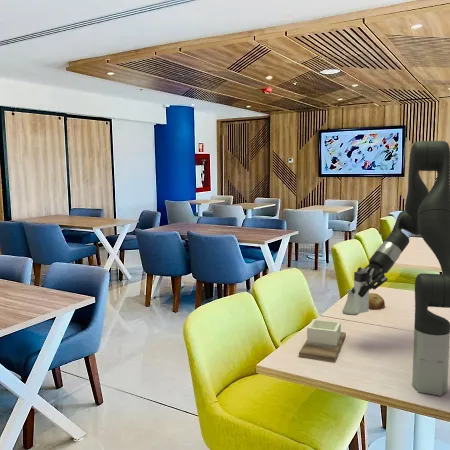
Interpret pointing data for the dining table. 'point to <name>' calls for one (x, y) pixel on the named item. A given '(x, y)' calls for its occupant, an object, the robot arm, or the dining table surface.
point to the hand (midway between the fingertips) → (356, 294)
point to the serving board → (322, 351)
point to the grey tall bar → (359, 281)
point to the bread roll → (376, 301)
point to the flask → (349, 304)
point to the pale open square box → (324, 333)
